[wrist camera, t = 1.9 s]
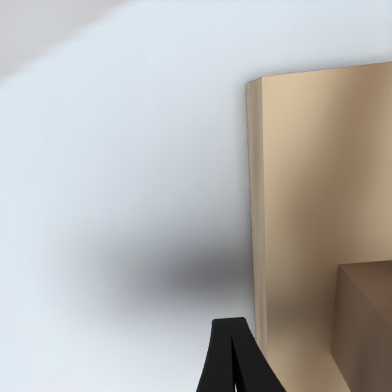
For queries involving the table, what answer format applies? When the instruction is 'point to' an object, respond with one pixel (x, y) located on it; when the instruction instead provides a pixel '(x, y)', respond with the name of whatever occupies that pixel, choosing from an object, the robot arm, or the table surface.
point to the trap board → (315, 207)
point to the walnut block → (364, 325)
